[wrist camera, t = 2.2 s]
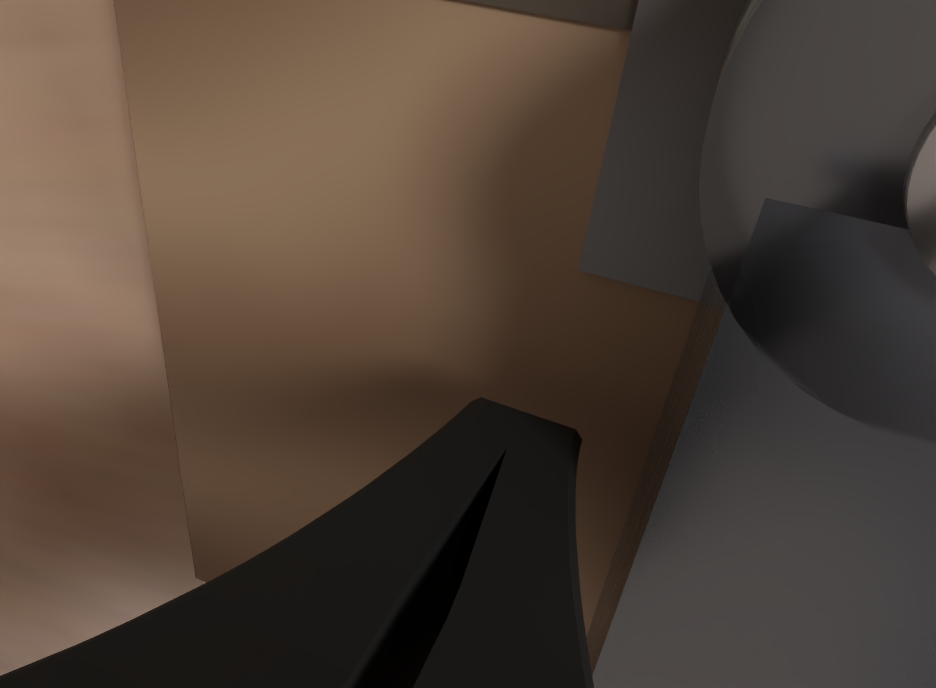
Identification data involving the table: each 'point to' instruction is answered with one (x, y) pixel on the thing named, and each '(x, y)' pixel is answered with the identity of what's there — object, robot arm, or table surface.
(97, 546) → the table surface
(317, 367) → the door board
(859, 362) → the latch bar
